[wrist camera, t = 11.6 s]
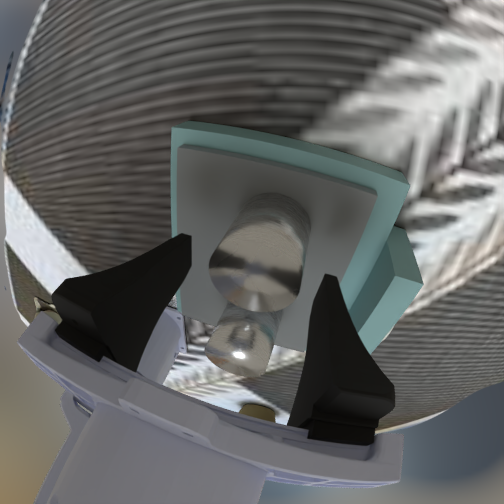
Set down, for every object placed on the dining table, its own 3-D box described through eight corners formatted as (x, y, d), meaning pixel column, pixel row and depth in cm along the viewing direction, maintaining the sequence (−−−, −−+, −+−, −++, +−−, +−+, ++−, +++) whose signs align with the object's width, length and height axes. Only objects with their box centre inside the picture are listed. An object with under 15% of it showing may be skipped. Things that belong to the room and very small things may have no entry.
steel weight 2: (271, 333, 23) (254, 382, 19) (223, 312, 23) (200, 359, 19) (291, 304, 20) (275, 361, 16) (236, 280, 20) (210, 333, 16)
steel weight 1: (301, 262, 18) (289, 320, 14) (236, 246, 18) (208, 298, 15) (318, 202, 15) (311, 254, 11) (242, 185, 16) (208, 229, 12)
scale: (344, 340, 26) (340, 390, 22) (187, 295, 28) (161, 337, 24) (429, 184, 15) (462, 228, 10) (189, 120, 17) (138, 141, 13)
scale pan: (304, 345, 24) (303, 352, 24) (185, 309, 26) (182, 315, 25) (375, 190, 14) (377, 196, 14) (183, 144, 16) (177, 147, 15)
